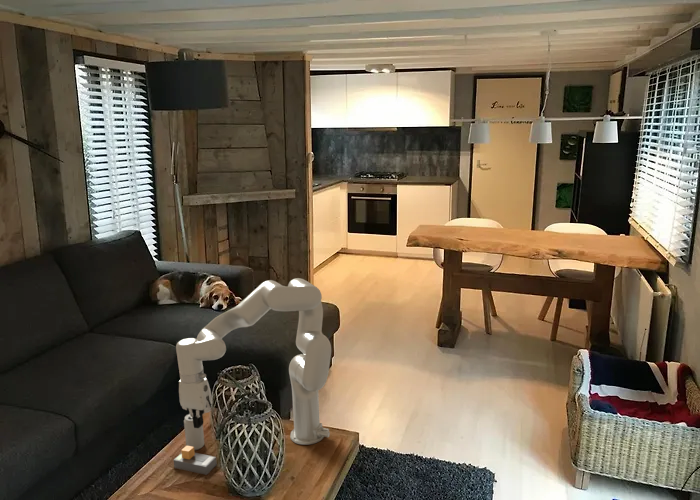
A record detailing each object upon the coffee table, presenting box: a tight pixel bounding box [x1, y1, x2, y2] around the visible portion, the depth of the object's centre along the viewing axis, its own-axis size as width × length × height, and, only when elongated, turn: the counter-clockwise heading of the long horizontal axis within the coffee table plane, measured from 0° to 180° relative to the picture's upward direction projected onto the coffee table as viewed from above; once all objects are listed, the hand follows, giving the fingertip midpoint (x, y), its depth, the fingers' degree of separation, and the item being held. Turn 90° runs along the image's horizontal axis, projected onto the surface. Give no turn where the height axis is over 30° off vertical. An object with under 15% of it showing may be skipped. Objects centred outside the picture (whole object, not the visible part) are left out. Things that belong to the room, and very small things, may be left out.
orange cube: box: [180, 445, 196, 459], centre depth 194 cm, size 3×3×3 cm
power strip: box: [173, 452, 218, 476], centre depth 194 cm, size 13×6×3 cm, turn 69°
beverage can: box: [183, 413, 205, 451], centre depth 206 cm, size 6×6×12 cm
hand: (198, 425), depth 191 cm, fingers closed
